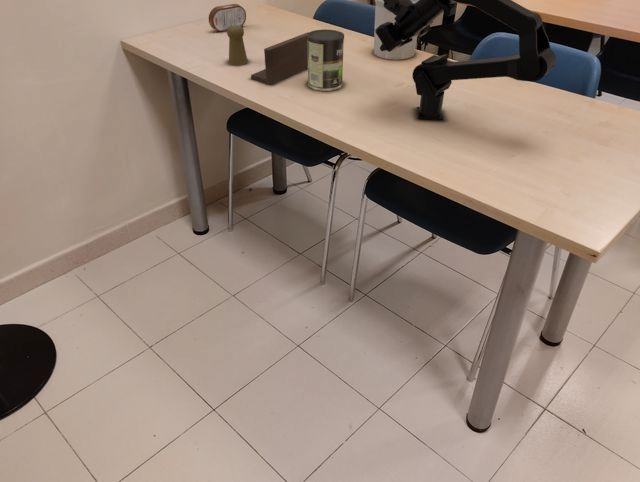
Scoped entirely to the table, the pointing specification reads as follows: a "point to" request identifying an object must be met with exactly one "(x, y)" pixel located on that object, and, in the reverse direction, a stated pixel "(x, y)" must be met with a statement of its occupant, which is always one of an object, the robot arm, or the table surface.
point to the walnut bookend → (284, 60)
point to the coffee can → (325, 59)
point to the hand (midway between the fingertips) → (381, 49)
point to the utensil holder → (380, 18)
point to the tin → (227, 17)
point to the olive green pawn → (236, 46)
